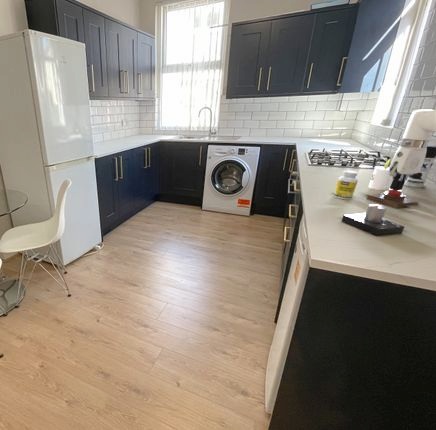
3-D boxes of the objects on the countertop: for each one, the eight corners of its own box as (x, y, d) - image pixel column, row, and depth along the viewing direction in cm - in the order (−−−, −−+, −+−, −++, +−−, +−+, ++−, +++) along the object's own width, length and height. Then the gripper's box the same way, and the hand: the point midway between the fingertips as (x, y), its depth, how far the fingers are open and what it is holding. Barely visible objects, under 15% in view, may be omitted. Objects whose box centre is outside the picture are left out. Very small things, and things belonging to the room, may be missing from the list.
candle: (364, 187, 137) (375, 157, 132) (381, 188, 135) (392, 157, 130) (370, 191, 132) (382, 159, 126) (388, 192, 130) (400, 160, 124)
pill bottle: (331, 197, 124) (339, 171, 120) (335, 194, 128) (343, 169, 123) (349, 200, 119) (358, 174, 115) (353, 197, 123) (362, 171, 119)
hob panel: (401, 233, 90) (404, 226, 89) (376, 236, 88) (379, 228, 87) (364, 219, 101) (366, 212, 100) (341, 221, 99) (343, 214, 98)
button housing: (416, 207, 112) (420, 197, 111) (396, 208, 110) (400, 199, 109) (384, 197, 123) (388, 189, 122) (366, 199, 121) (369, 190, 120)
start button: (403, 195, 114) (405, 191, 113) (395, 196, 113) (397, 191, 112) (392, 193, 118) (394, 188, 117) (384, 193, 117) (386, 188, 116)
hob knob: (372, 217, 96) (378, 203, 94) (385, 222, 92) (391, 207, 90) (360, 217, 96) (365, 203, 94) (372, 223, 92) (378, 208, 89)
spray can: (402, 187, 138) (418, 146, 130) (403, 184, 142) (419, 144, 134) (421, 190, 133) (439, 147, 125) (422, 187, 137) (440, 146, 130)
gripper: (409, 146, 103) (390, 193, 110) (440, 144, 105) (420, 191, 113) (387, 143, 110) (371, 187, 117) (417, 142, 112) (399, 185, 119)
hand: (395, 189), depth 115 cm, fingers closed
